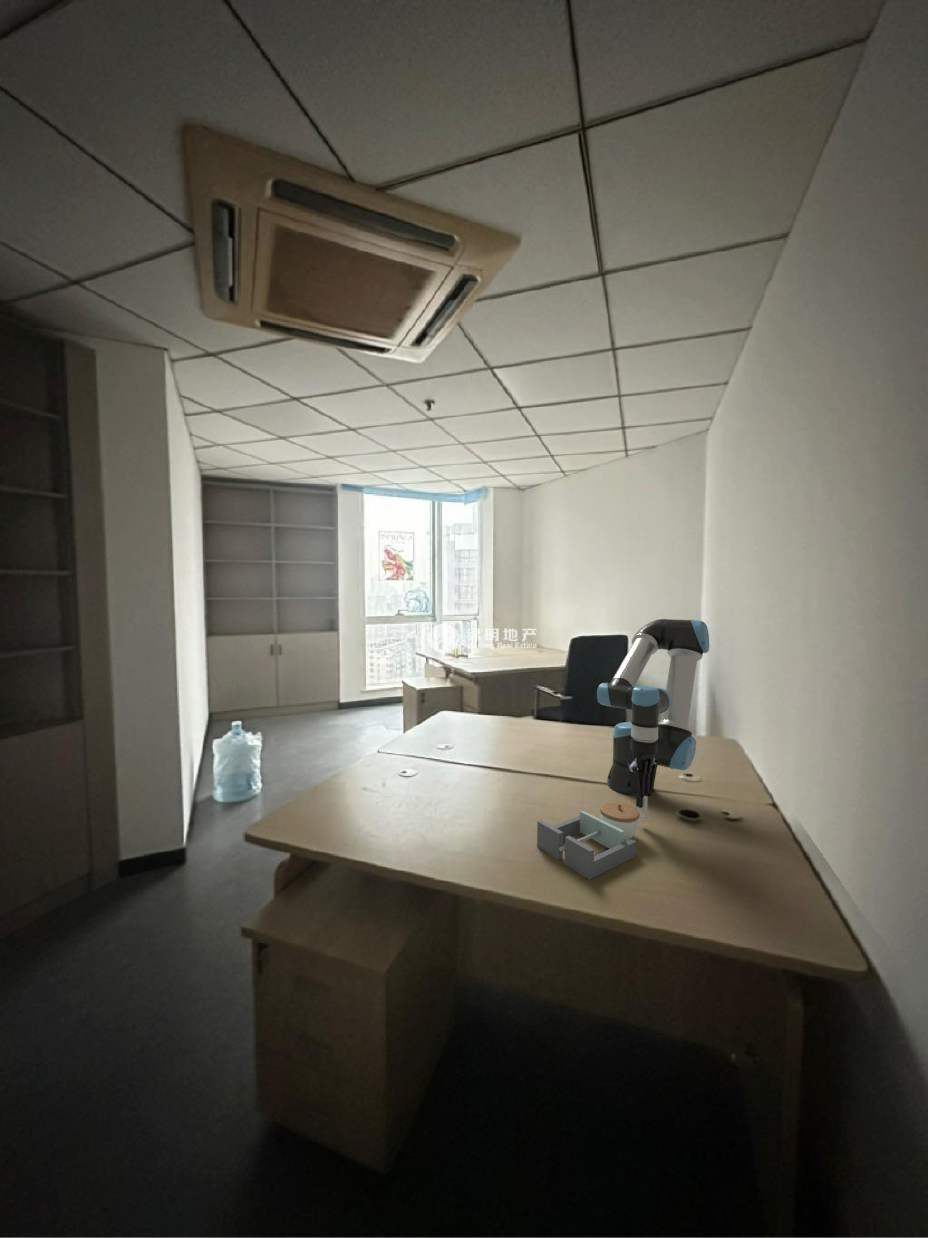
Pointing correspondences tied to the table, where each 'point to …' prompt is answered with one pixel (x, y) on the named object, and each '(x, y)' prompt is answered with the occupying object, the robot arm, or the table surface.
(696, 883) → the table surface
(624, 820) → the lidded jar
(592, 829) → the pusher
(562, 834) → the grey fixture frame
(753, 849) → the table surface
